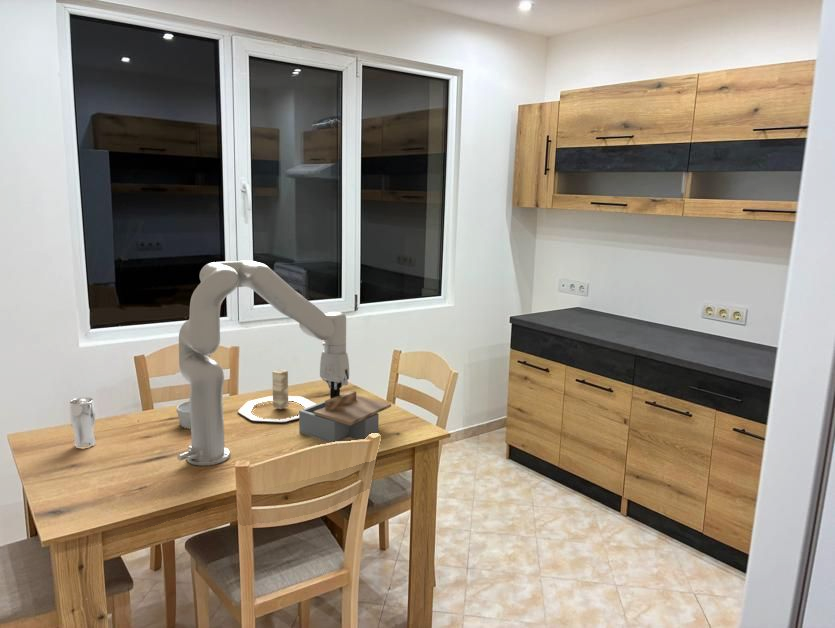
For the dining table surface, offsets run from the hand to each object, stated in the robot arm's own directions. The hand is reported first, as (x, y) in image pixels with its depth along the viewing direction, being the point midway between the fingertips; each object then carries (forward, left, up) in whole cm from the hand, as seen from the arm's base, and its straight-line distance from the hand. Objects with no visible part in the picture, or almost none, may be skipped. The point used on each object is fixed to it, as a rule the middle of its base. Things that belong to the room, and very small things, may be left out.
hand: (335, 398), depth 212 cm
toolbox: (0, -5, -11) cm, 12 cm away
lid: (0, -8, -2) cm, 9 cm away
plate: (0, +28, -11) cm, 31 cm away
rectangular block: (+1, +29, -10) cm, 30 cm away
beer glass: (-60, +52, -11) cm, 80 cm away
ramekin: (-27, +40, -11) cm, 50 cm away
